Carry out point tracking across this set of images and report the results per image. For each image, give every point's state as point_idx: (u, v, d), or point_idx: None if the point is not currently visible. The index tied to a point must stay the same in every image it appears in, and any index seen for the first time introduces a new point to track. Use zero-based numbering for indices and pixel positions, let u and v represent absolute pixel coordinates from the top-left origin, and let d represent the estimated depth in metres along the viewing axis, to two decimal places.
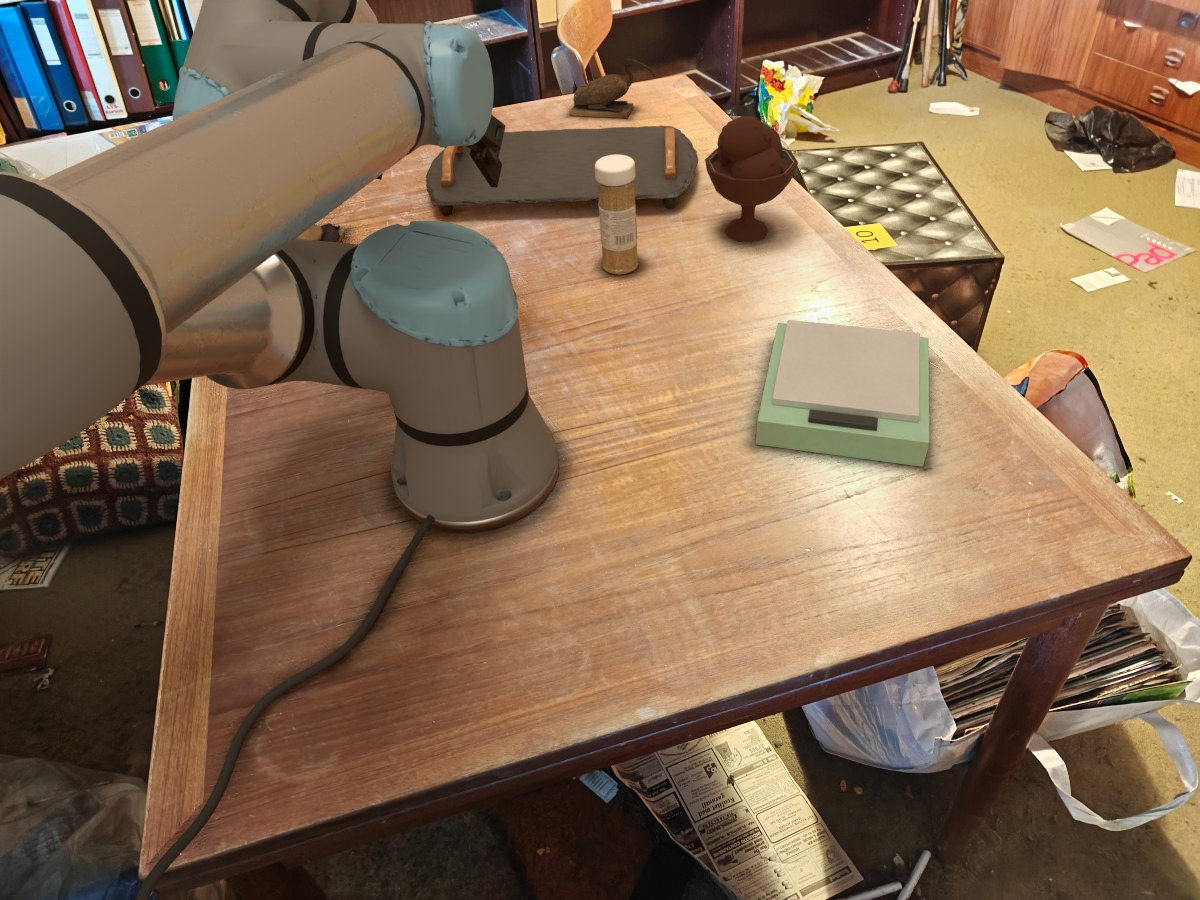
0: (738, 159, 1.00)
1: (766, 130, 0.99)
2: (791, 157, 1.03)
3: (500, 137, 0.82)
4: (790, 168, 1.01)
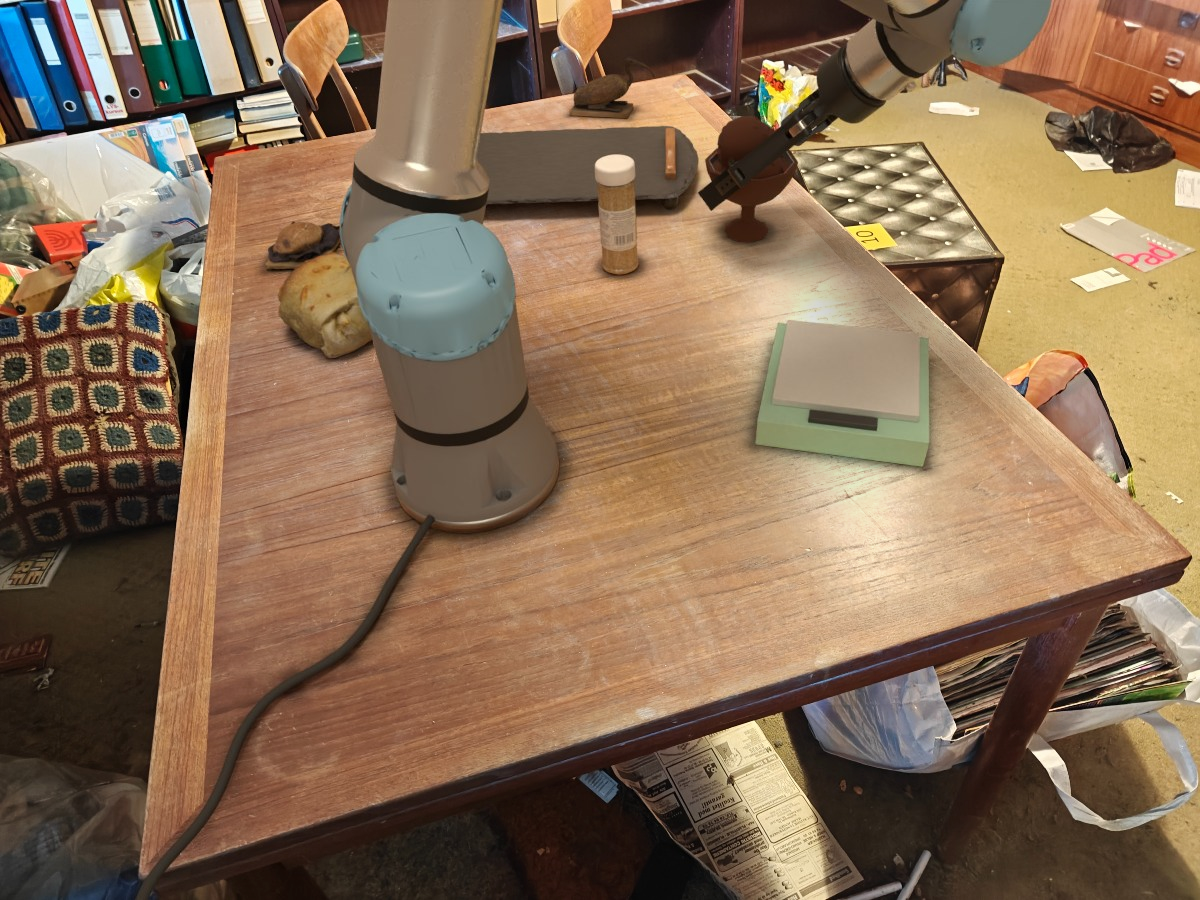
0: (738, 159, 1.00)
1: (766, 130, 0.99)
2: (791, 157, 1.03)
3: (735, 174, 0.95)
4: (790, 168, 1.01)
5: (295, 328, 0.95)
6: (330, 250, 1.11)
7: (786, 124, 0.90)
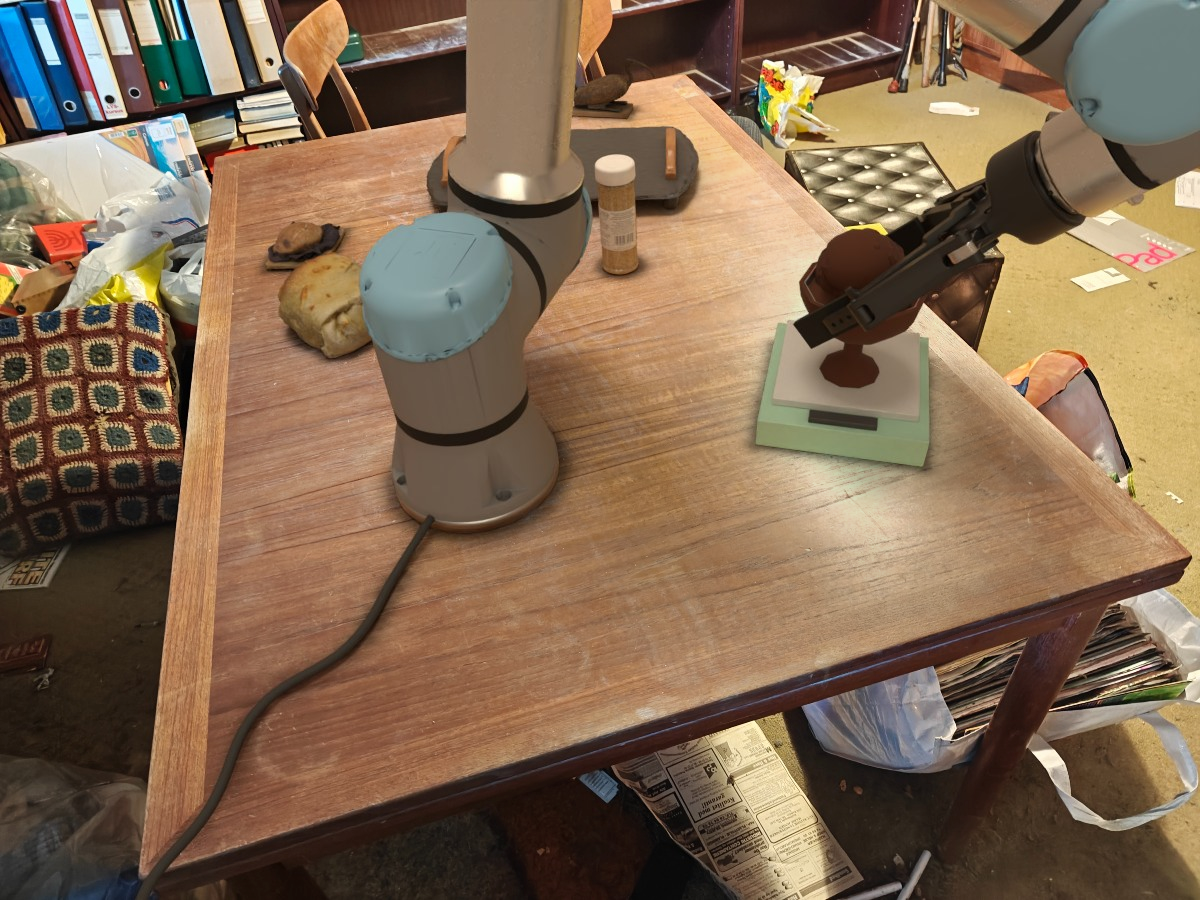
0: None
1: (892, 250, 0.71)
2: None
3: (860, 313, 0.65)
4: (921, 299, 0.73)
5: (295, 328, 0.95)
6: (330, 250, 1.11)
7: (946, 246, 0.61)
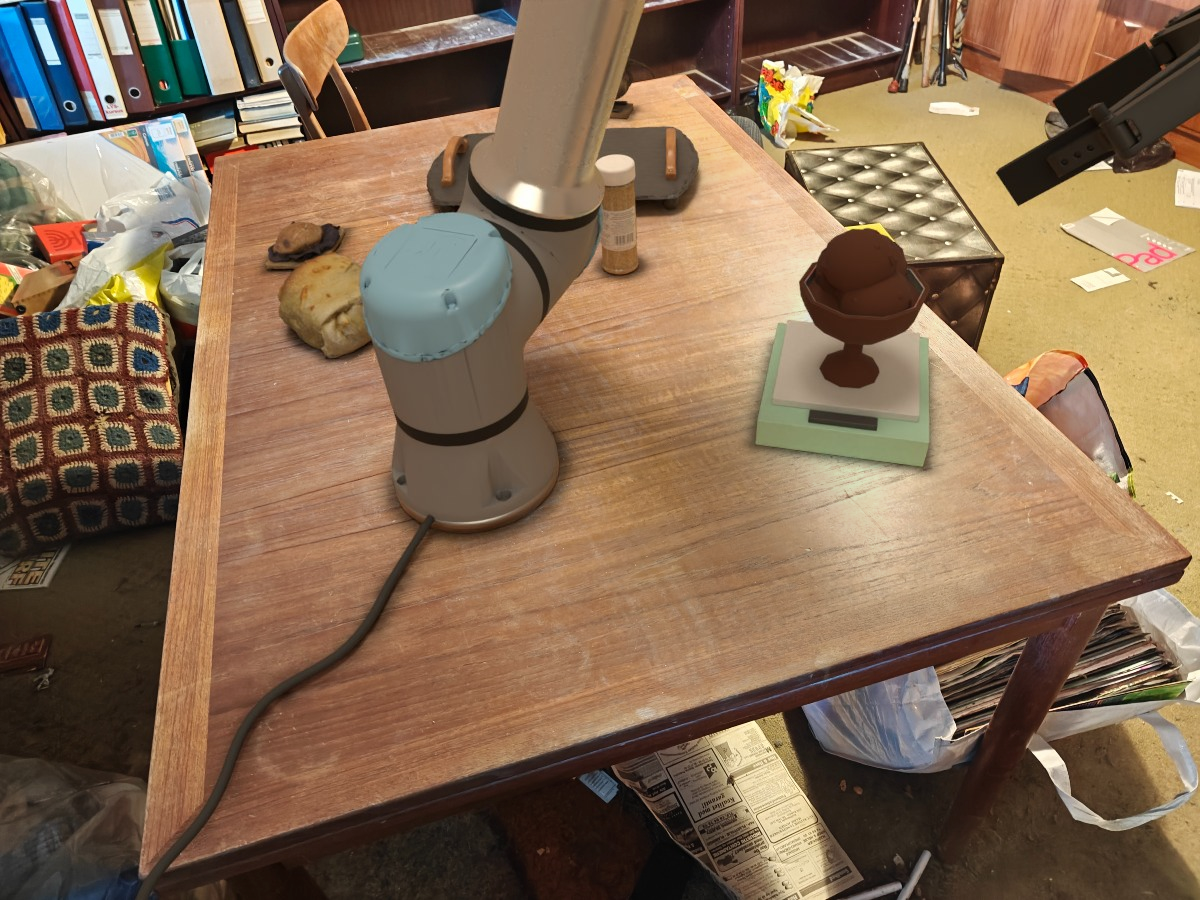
0: (851, 289, 0.72)
1: (892, 250, 0.71)
2: (919, 280, 0.75)
3: (1120, 133, 0.48)
4: (921, 299, 0.73)
5: (295, 328, 0.95)
6: (330, 250, 1.11)
7: None
